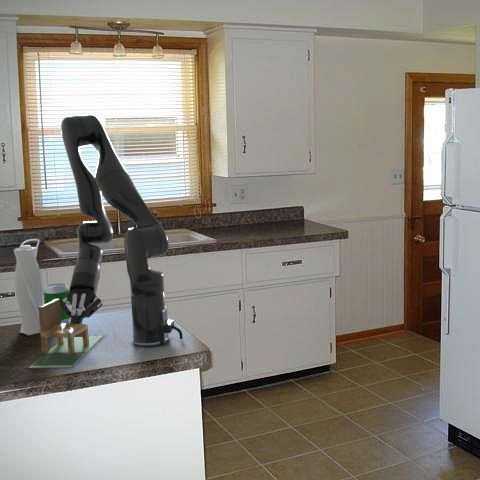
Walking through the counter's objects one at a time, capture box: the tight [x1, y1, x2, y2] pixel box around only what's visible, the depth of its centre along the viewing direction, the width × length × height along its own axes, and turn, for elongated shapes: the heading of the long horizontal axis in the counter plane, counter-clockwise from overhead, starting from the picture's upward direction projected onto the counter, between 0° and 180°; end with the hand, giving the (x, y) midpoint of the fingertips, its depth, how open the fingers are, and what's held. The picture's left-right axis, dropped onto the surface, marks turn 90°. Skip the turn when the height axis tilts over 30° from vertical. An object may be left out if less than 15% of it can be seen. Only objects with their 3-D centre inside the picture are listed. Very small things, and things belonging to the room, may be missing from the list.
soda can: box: [43, 282, 72, 324], centre depth 227 cm, size 8×8×12 cm
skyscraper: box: [13, 238, 44, 336], centre depth 216 cm, size 8×8×28 cm
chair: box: [39, 299, 90, 355], centre depth 200 cm, size 9×9×13 cm
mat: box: [28, 334, 104, 369], centre depth 200 cm, size 11×28×1 cm, turn 0°
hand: (74, 329), depth 205 cm, fingers closed
